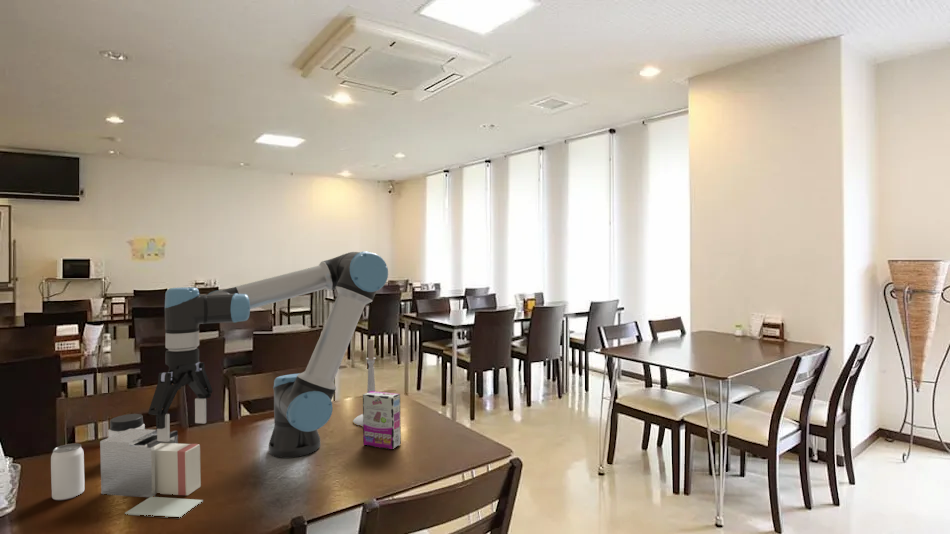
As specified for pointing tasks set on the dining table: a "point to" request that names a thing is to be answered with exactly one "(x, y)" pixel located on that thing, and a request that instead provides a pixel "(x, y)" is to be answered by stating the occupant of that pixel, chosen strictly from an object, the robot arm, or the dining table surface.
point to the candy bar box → (381, 420)
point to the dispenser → (130, 462)
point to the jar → (125, 423)
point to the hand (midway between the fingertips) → (183, 431)
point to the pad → (164, 507)
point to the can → (67, 471)
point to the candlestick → (371, 380)
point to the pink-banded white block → (177, 468)
